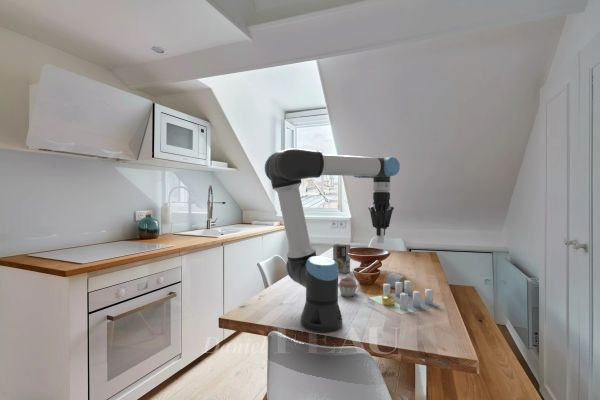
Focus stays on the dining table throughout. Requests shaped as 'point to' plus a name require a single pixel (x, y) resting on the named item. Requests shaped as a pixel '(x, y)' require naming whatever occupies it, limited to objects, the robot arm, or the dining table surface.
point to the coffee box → (342, 257)
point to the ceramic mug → (395, 280)
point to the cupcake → (347, 286)
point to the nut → (388, 300)
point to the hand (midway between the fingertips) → (380, 242)
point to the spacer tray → (407, 298)
